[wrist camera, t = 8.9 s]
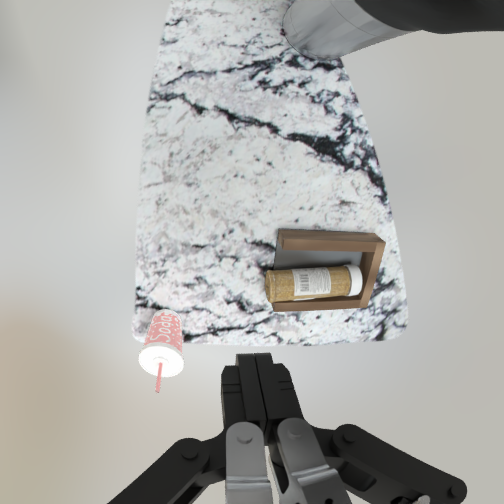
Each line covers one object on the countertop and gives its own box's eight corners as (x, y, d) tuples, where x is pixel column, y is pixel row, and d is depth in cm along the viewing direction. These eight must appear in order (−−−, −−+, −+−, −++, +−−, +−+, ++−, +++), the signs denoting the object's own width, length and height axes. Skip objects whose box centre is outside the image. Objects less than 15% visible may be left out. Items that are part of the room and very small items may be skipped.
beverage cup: (192, 312, 43) (189, 384, 31) (179, 340, 46) (175, 410, 33) (153, 299, 42) (137, 369, 29) (144, 328, 44) (129, 397, 31)
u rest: (278, 228, 39) (284, 239, 36) (374, 233, 42) (385, 242, 39) (269, 297, 44) (273, 311, 41) (357, 295, 46) (366, 307, 43)
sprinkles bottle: (266, 307, 41) (354, 299, 42) (271, 295, 37) (366, 287, 39) (263, 278, 43) (347, 273, 45) (267, 263, 39) (358, 258, 41)
